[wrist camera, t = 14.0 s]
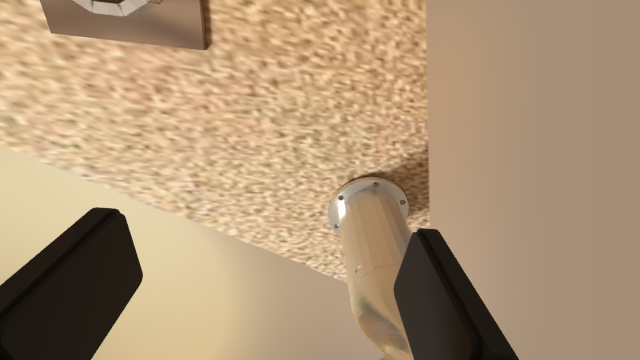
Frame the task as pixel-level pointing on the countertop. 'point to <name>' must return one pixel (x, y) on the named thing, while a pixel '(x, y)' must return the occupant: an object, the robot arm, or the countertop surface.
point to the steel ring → (119, 7)
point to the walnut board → (132, 23)
